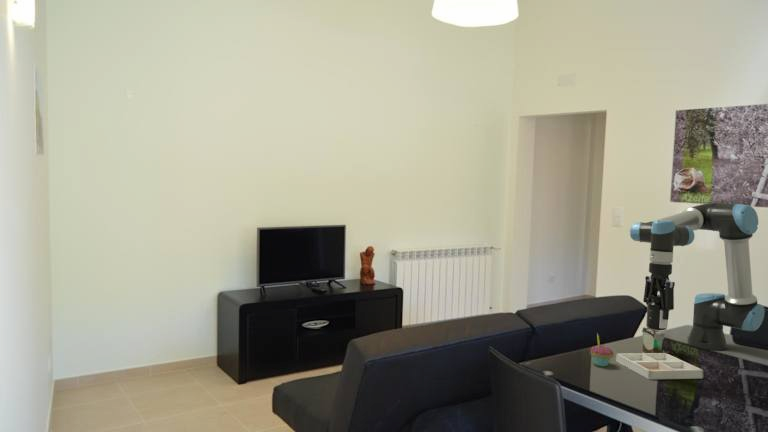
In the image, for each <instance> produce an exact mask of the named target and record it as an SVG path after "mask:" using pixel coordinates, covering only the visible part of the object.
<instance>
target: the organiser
mask: <svg viewBox="0 0 768 432" xmlns="http://www.w3.org/2000/svg"><path fill="white" fill-rule="evenodd" d="M615 362H616V363H619V364H620V365H622V366H624V367H625V366H626V368H627V367H628V368H627V369H629V370H632V371H633V372H634V373H637V374H638V375H640V376H642V377H644V378H645V379H648V380H685V379H686V380H687V379H688V380H689V379H694V380H695V379H704V372H705V371H704V369H702V368H700V367H697V366H696V365H693V364H691V363H689V362H686V361H684V360H682V359H680V358H678V357H675V356H673V355H671V354H668V353H666V352H661V353H644V352H640V353H638V352H637V353H636V352H635V353H629V352H628V353H615Z"/></svg>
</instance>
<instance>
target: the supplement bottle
mask: <svg viewBox="0 0 768 432" xmlns="http://www.w3.org/2000/svg"><path fill="white" fill-rule="evenodd" d="M651 300H652V301H651V302H649V303H648V307H647V306H646V323H645V324H646V328H650V329H654V330H660V331H666V330H667V329H668V327H667V328H659V322H660V309H662V305H661V299H660V294H658V293H657V294H653V295H651Z"/></svg>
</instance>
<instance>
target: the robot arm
mask: <svg viewBox="0 0 768 432" xmlns="http://www.w3.org/2000/svg"><path fill="white" fill-rule="evenodd" d="M758 225H759V216H758V213H757V211H756V210H755V208H754V207H753V206H752V205H749V204H743V203H717V202H707V203H703V204H699V205H695V206H691V207H688V208H685V209H684V210H682V212H678V213H676V214H673V215H669V216H665V217H662V218H659V219H655V220H652V221H651V220H650V221H648V222H642V221H640V222H633V223H632V224H631V226H630V229H629V235H630V238H631V239H632V241H633V242H634V241H635V242H639V243H646V244H647V243H649V244H650V250H649V251H650V253H649V261H650V262H649V267H648V272H649V273H650V274H651V275H649V276H648V275H646V276H645V286H644V294H643V299H642V300H643V301H642V302H643V303H645V304H646V305H647V306H646V308H647V307H648V303H649V302H651V301H652V300H651V295H653V294H657V295H658V292H659V295H660V299H661V305H662V309H660V322H659V328H667V329H668V322H669V313H670V311H673V310H674V309H675V304H674V303H675V297H674V296H675V295H674V294H675V293H674V292H675V289H674V288H675V285H676V284H675V283H676V282H675V281H671V280H670V278H669V276H671V275H672V272H673V264H672V263H673V261H674V260H673V259H674V247H685V246H689V245H691V244H692V243H693V241H694V240H695V232H694V231H698V230H705V231H712V232H718V234H719V239H720V240H722V241H723V243H724V255H725V268H726V281H727V292H728V294H727V295H725V294H724V293H714V292H713V293H711V292H710V293H708V292H707V293H698V294H696V295H695V296H694V303H693V319H692V326H691V329H690V332H689V334H688V335H689V336H688V337H687V340H686V341H687V344H688V345H690V346H692V347H695V348H699V349H702V350H711V351H725V350H727V345H728V344H727V341H726V337H725V333H724V327H729V328H733V329H736V330H737V329H738V330H741V331H749V332H755V331H757V330H758V329H760V326H761V325H762V323H763V320H764V318H765V313H766V312H765V307H764V305H762V304H760V303H758V297H757V296H756V295H754V294H753V284H752V281H753V280H752V270H751V257H750V256H751V255H750V254H751V253H750V242H749V241H750V239H751V238H753V235H754V234H755V233H756V232H757V230H758Z"/></svg>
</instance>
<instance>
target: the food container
mask: <svg viewBox="0 0 768 432" xmlns="http://www.w3.org/2000/svg"><path fill="white" fill-rule="evenodd" d="M641 333H642V343H641V344H642V347H641V348H642V349H641V350H642V352H641V353H662V350H663V348H662V347H663V342H664V341H663V340H664V339H665V338H666V337H665V332H664V330H654V329H650V328H648V327H642V330H641Z"/></svg>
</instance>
